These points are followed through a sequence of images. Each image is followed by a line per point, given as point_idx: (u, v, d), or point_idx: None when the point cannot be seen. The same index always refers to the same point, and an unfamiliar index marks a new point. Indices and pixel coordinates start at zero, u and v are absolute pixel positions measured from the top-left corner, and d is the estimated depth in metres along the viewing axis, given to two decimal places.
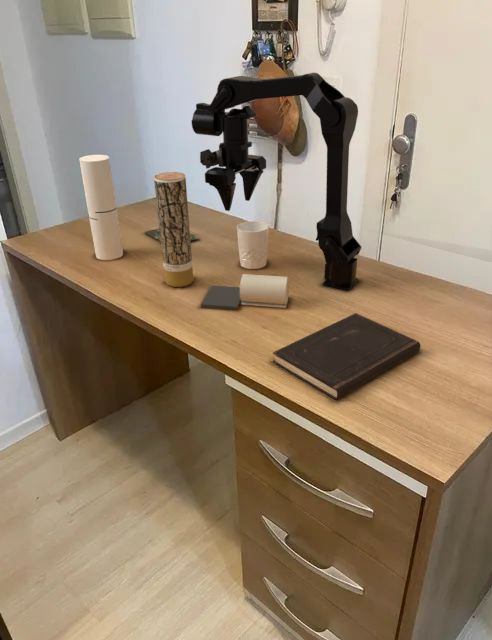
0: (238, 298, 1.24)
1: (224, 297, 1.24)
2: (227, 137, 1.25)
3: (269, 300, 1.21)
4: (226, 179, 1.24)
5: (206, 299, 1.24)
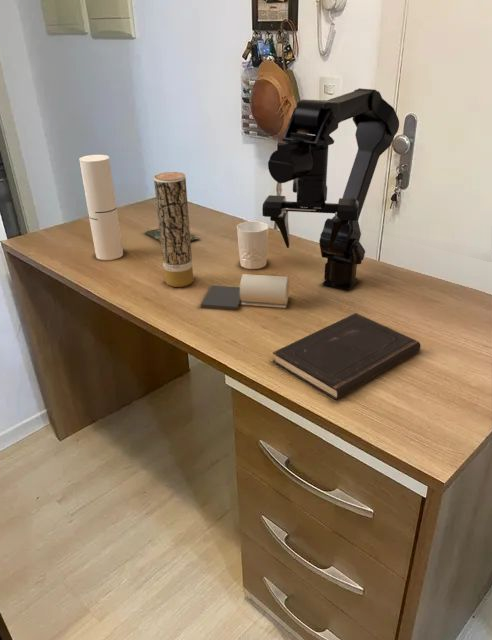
0: (238, 298, 1.24)
1: (224, 297, 1.24)
2: (323, 171, 1.05)
3: (269, 300, 1.21)
4: (264, 209, 1.10)
5: (206, 299, 1.24)
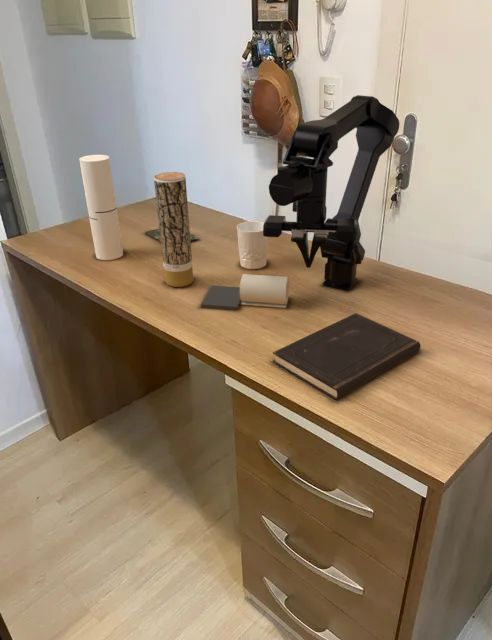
0: (238, 298, 1.24)
1: (224, 297, 1.24)
2: (322, 193, 1.07)
3: (269, 300, 1.21)
4: (264, 230, 1.12)
5: (206, 299, 1.24)
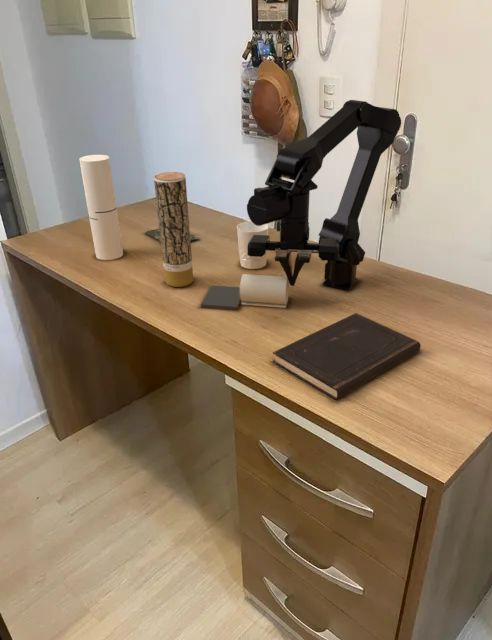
0: (238, 298, 1.24)
1: (224, 297, 1.24)
2: (302, 215, 1.10)
3: (269, 300, 1.21)
4: (248, 249, 1.15)
5: (206, 299, 1.24)
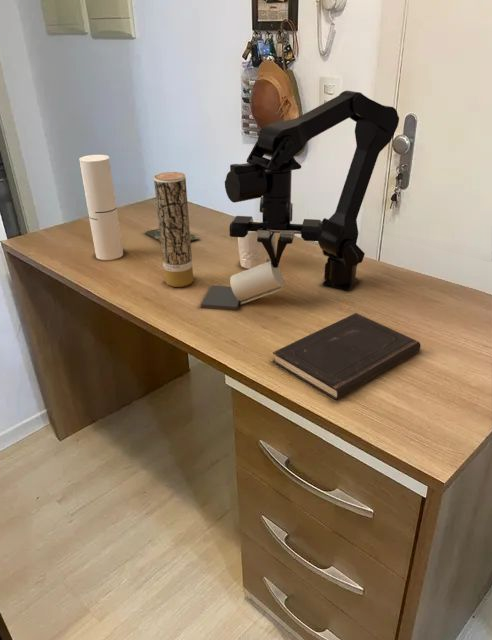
0: None
1: (224, 297, 1.24)
2: (282, 194, 1.08)
3: (262, 289, 1.20)
4: (230, 230, 1.13)
5: (206, 299, 1.24)
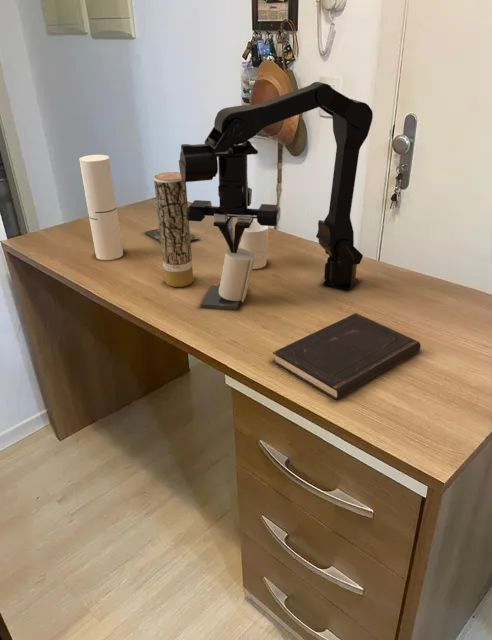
0: None
1: None
2: (235, 178, 1.08)
3: (240, 275, 1.19)
4: (187, 214, 1.13)
5: (206, 299, 1.24)
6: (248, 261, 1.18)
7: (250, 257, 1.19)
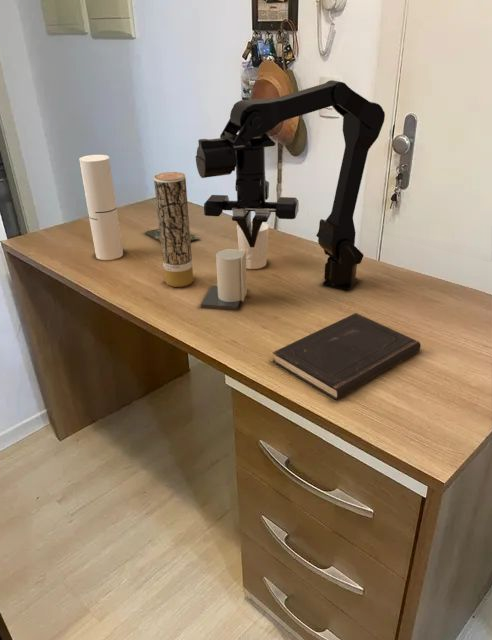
0: None
1: None
2: (253, 172, 1.07)
3: (233, 274, 1.19)
4: (205, 209, 1.12)
5: (206, 299, 1.24)
6: (238, 259, 1.18)
7: (240, 255, 1.19)
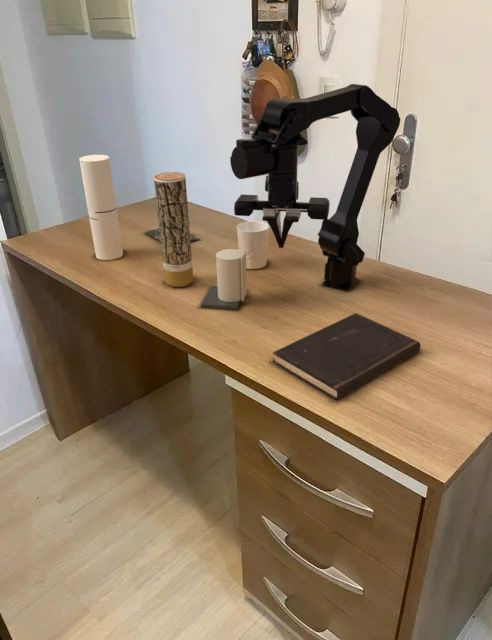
0: None
1: None
2: (289, 171, 1.06)
3: (233, 274, 1.19)
4: (235, 208, 1.11)
5: (206, 299, 1.24)
6: (238, 259, 1.18)
7: (240, 255, 1.19)
